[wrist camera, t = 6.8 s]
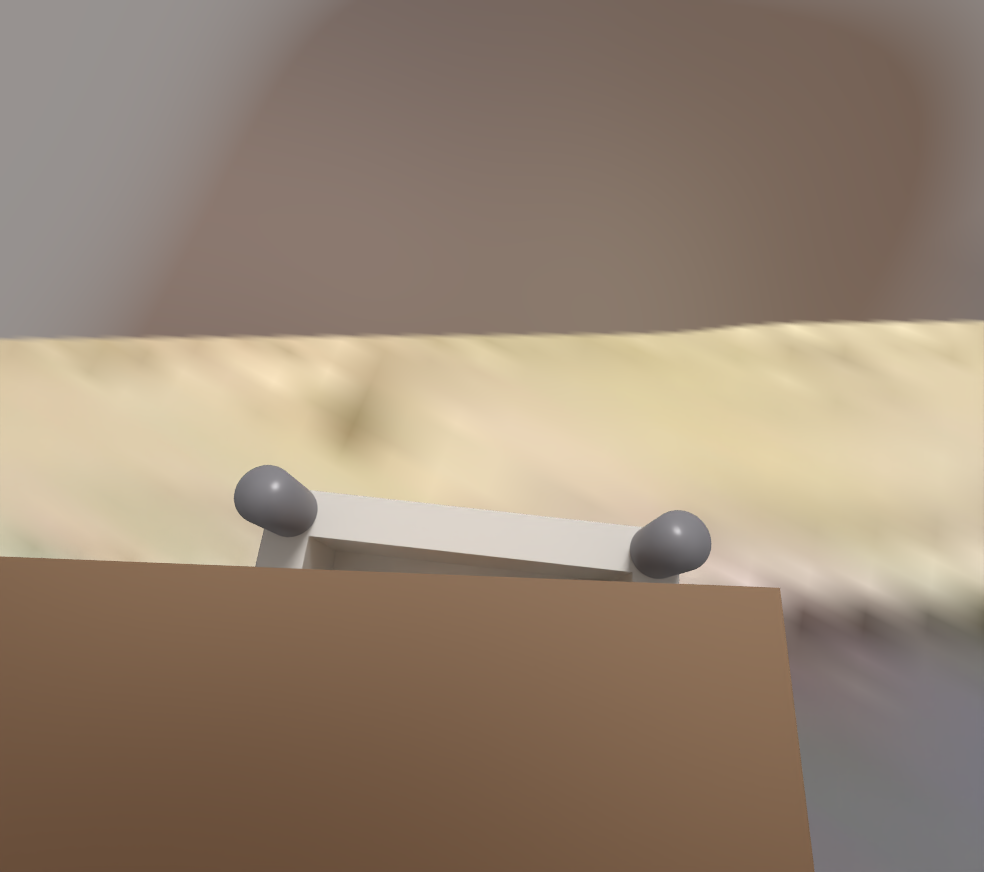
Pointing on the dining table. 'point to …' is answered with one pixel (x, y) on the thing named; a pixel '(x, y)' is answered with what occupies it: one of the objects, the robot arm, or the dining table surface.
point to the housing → (457, 537)
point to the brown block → (391, 723)
